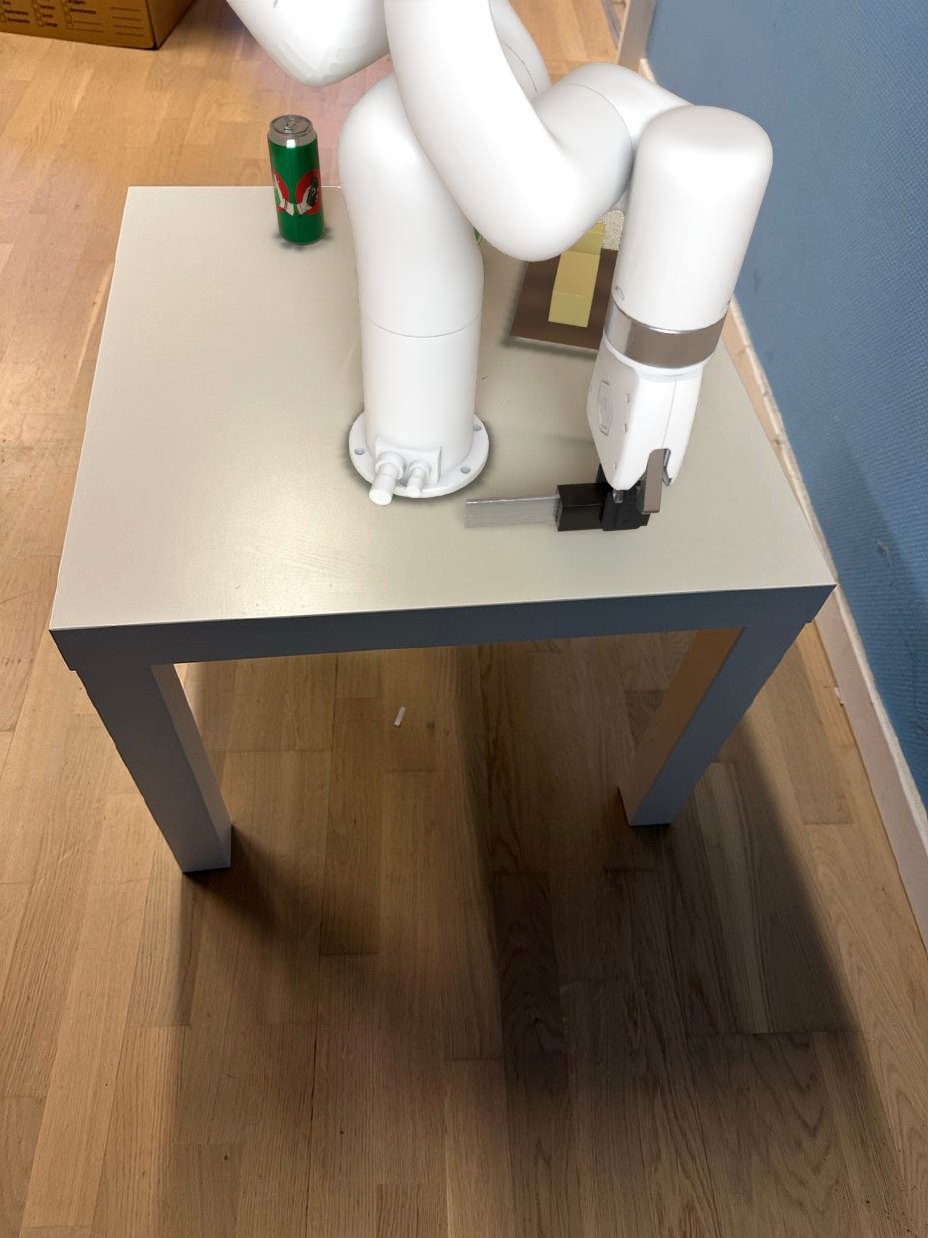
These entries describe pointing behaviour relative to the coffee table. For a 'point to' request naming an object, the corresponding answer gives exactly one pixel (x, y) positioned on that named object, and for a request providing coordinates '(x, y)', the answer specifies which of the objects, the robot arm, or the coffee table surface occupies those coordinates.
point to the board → (538, 301)
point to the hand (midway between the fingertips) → (615, 512)
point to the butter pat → (590, 241)
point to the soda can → (296, 179)
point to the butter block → (574, 288)
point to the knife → (545, 508)
